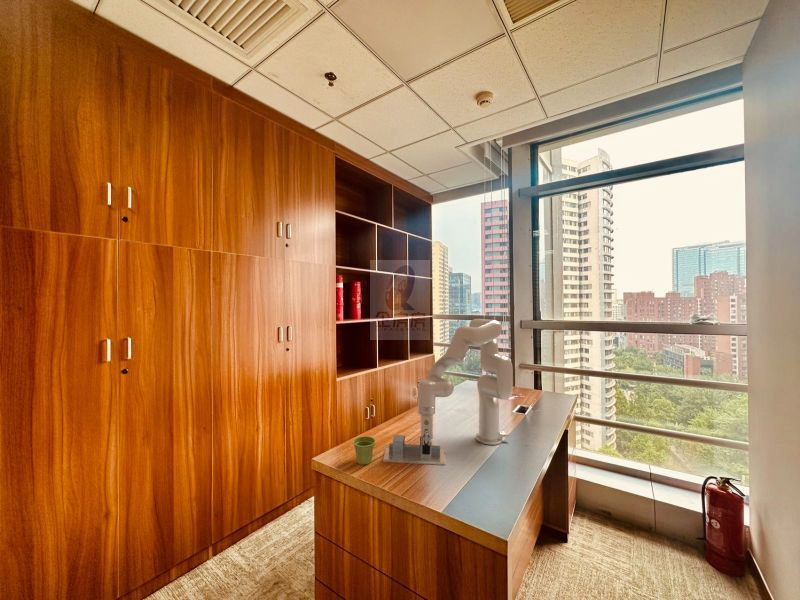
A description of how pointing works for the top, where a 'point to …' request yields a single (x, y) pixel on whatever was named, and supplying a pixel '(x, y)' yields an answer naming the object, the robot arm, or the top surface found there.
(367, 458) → the plant pot
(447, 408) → the top surface
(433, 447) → the rail
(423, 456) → the grey block
